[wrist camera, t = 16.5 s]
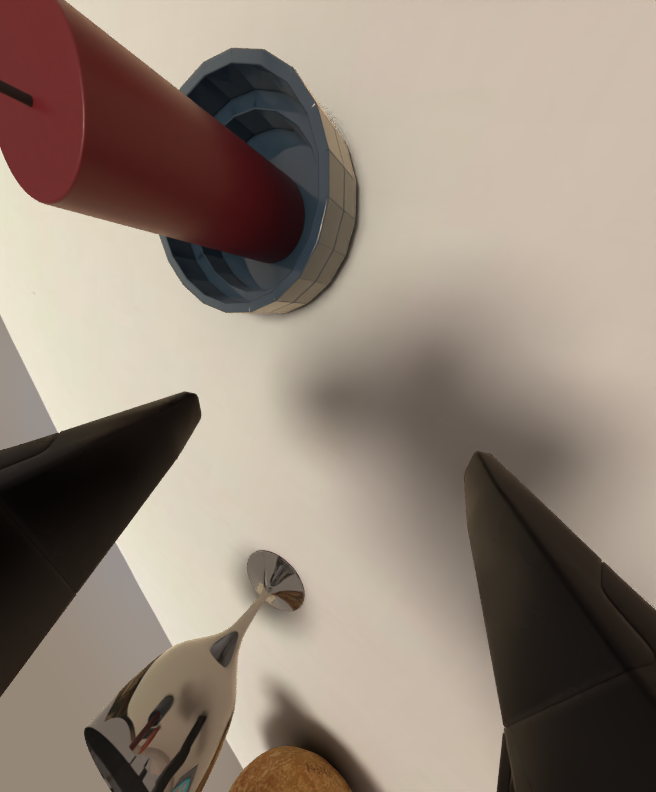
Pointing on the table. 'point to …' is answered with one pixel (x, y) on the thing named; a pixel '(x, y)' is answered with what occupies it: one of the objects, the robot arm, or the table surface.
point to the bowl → (295, 156)
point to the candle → (130, 141)
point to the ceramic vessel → (289, 773)
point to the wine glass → (183, 700)
